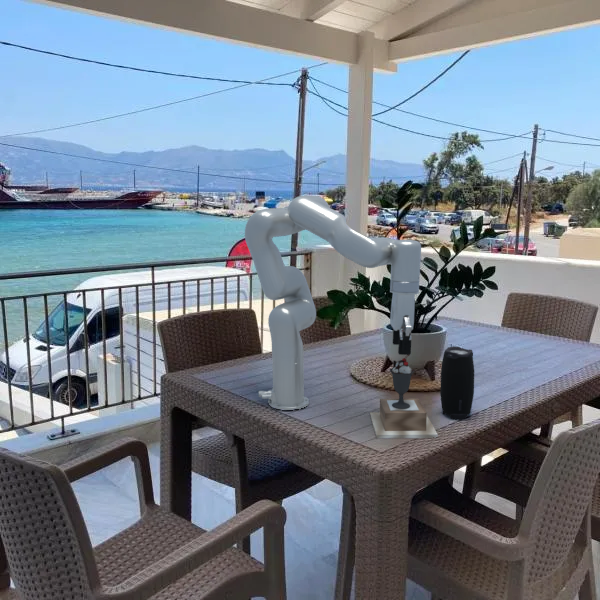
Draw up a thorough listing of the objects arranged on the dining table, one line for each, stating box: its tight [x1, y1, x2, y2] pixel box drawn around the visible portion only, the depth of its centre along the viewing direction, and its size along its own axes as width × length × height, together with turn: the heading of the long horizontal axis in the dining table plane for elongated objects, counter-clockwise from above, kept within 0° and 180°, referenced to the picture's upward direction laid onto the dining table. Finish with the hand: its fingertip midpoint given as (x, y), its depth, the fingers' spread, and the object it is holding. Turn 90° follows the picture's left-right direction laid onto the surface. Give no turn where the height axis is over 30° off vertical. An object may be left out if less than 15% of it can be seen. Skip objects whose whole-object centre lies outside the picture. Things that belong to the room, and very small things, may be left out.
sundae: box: [389, 355, 415, 409], centre depth 155 cm, size 7×7×15 cm
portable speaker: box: [440, 345, 475, 421], centre depth 164 cm, size 9×9×20 cm
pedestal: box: [369, 398, 439, 439], centre depth 157 cm, size 16×16×6 cm
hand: (401, 349), depth 154 cm, fingers open, 9 cm apart
